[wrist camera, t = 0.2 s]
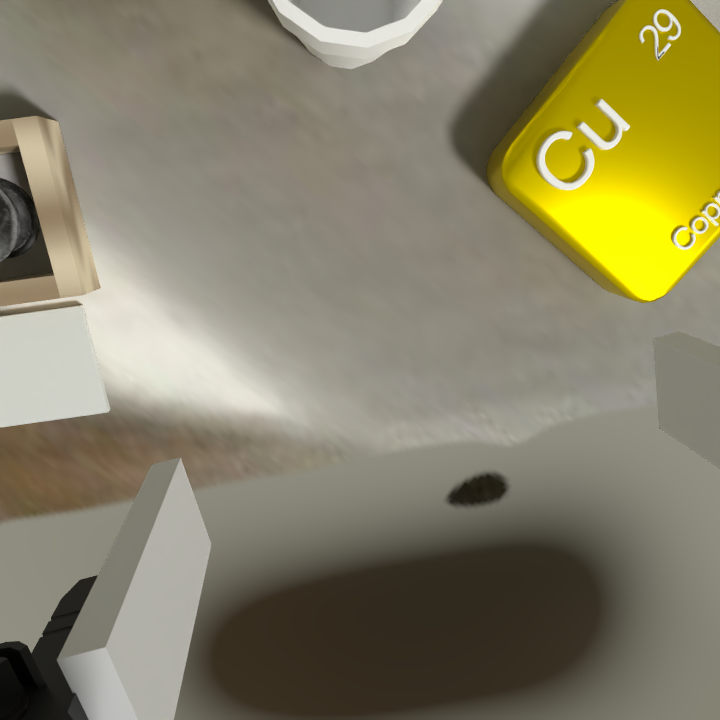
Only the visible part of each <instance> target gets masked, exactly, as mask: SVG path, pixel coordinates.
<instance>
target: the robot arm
mask: <svg viewBox="0 0 720 720" xmlns="http://www.w3.org/2000/svg"><path fill="white" fill-rule="evenodd" d="M653 345H654V360H655V374H656V389H657V404H658V418H659V429H661V430H662V431H664V432H665V433H667V434H668V435H670V436H672V437H673V438H675V439H676V440H677V441H679V442H680V443H682V444H683V445H685V446H686V447H688V448H690V449H691V450H692V451H694V452H695V453H697V454H699V455H700V456H701V457H703V458H704V459H706V460H707V461H709V462H711V463H712V464H714V465H715V466H716V467H718V468H719V469H720V347H718V346H716V345H713V344H710V343H708V342H705V341H703V340H700V339H697V338H695V337H692V336H690V335H687V334H684V333H682V332H676V333H672V334H668V335H664V336H661V337H657V338H653ZM210 548H211V542H210V540H209V537H208V534H207V531H206V528H205V526H204V523H203V520H202V517H201V514H200V512H199V509H198V506H197V503H196V500H195V497H194V494H193V492H192V489H191V486H190V483H189V480H188V477H187V475H186V472H185V469H184V466H183V463H182V460H181V458H177V459H173V460H169V461H165V462H161V463H157V464H153V465H151V468H150V470H149V472H148V474H147V476H146V478H145V480H144V482H143V484H142V486H141V488H140V490H139V492H138V494H137V496H136V498H135V500H134V502H133V505H132V507H131V509H130V511H129V513H128V515H127V517H126V519H125V521H124V523H123V525H122V527H121V529H120V532H119V533H118V535H117V537H116V540H115V541H114V544H113V546H112V548H111V550H110V552H109V554H108V556H107V558H106V560H105V562H104V564H103V566H102V568H101V570H100V572H99V574H98V576H93V577H89V578H86V579H82V580H79V581H78V583H76V585H74V586H73V588H72V589H71V590H70V591H69V592H68V593H67V594H66V595H65V596H64V597H63V598H62V599H61V600H60V602H59V604H58V606H57V608H56V610H55V611H54V613H53V615H52V617H51V621H50V622H48V624H47V626H46V628H45V630H44V631H43V633H42V634H43V637H41V638H40V639H39V641H38V642H37V644H36V646H35V648H34V650H33V652H32V653H31V652H30V650H29V648H28V646H27V645H25V644H23V643H21V642H19V641H16V642H4V643H1V644H0V720H174V715H175V710H176V706H177V701H178V697H179V692H180V687H181V683H182V678H183V673H184V669H185V664H186V660H187V655H188V650H189V645H190V641H191V636H192V632H193V627H194V622H195V618H196V613H197V608H198V604H199V599H200V595H201V590H202V585H203V581H204V576H205V571H206V567H207V562H208V557H209V552H210Z"/></svg>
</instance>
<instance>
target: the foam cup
mask: <svg viewBox="0 0 720 720" xmlns="http://www.w3.org/2000/svg"><path fill="white" fill-rule="evenodd" d="M442 1H443V0H268V2H269V4H270V5H271V7H272V9H273V10H274V12H275V14H276V16H277V17H278V19H279V21H280V22H281V24H282V26H283V27H284V28H286V29H287V30H288V31H290V32H291V33H293V34H294V35H296V36H297V37H298V38H299V39H300V41H301V42H302V43H303V44H304V45H305V47H306V48H307V49H308V50H309V51H310V52H311V53H312V54H313V55H315V56H316V57H318V58H319V59H321V60H322V61H323V62H325V63H326V64H328V65H329V66H333V67H340V68H347V69H353V68H356V67H359V66H361V65H364V64H367V63H369V62H372V61H374V60H375V59H377V58H378V57H380V56H381V55H383V54H384V53H385V52H387V51H388V50H391V49H393V48H396V47H399V46H401V45H404V44H406V43H407V42H408V41H409V39H410V38H411V37H412V36H413V35H414V34H415V33H416V32H417V31H418V30H419V29H420V28H421V27H422V26H423V24H424V23H425V22H426V21H427V20H428V19H429V18H430V17H431V16H432V15H433V14H434V13H435V12H436V10H437V9H438V7H439V6H440V4H441V2H442Z"/></svg>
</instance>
